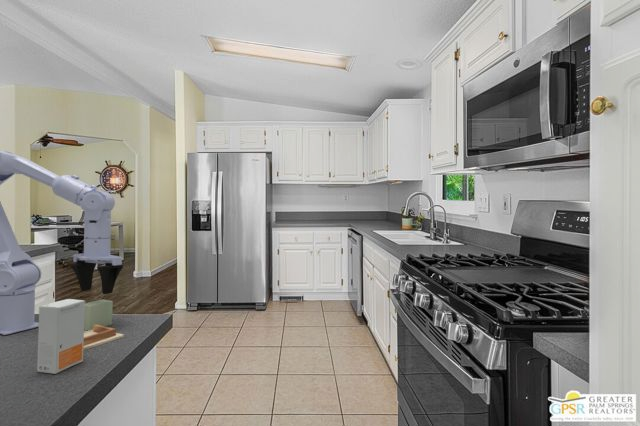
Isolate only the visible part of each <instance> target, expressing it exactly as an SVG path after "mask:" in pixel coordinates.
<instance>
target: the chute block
mask: <svg viewBox="0 0 640 426" xmlns="http://www.w3.org/2000/svg"><path fill="white" fill-rule="evenodd" d="M113 303H114V301H113V300H108V299H98V300H93V301H89V302H85V315H84V329H85V330H84V331H87V330H91V329H93V325H101V326H105V327H109V326H110V325H113V307H114V306H113V305H114V304H113Z"/></svg>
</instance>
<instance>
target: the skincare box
mask: <svg viewBox="0 0 640 426" xmlns="http://www.w3.org/2000/svg"><path fill="white" fill-rule="evenodd" d="M85 303H86V300H83V299H72V298H66V299H63V300H58V301H54V302H50V303H47V304H42V305H40V306H39V307H38V308H39V309H38V323H39V327H38V336H37V367H36V371H37V372H38V373H44V374H52V375H53V374H54V375H57V374H58V373H60V372H63V371H65V370H66V369H69V368H71V367H72V366H75V365H78V364H79V363H82V362H84V351H83V344H84V332H85V330H84V315H85Z"/></svg>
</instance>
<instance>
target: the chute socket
mask: <svg viewBox="0 0 640 426" xmlns="http://www.w3.org/2000/svg"><path fill="white" fill-rule="evenodd" d="M122 338H125V334H124V333H118V332H117V328H114V327H109V326H101V325H93V329H91V330H88V331H87V330H84V344H83V352H84V351H87V350H89V349H92V348H95V347H99V346H101V345H105V344H107V343H111V342H113V341H116V340H118V339H122Z"/></svg>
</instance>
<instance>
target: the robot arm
mask: <svg viewBox="0 0 640 426" xmlns="http://www.w3.org/2000/svg"><path fill="white" fill-rule="evenodd" d="M15 174H17V175H23V176H25V177H27V178H30V179H32V180H35V181H38V182H39V183H42V184H44V185H46V186H48V187H50V188H51V189H52V192H53V194H54V195H55V196H58V197H60V198H62V199H64V200H66V201H68V202H70V203H73V204H74V205H76V206H79V207H80V209H82V210H83V212H84V221H83V222H84V226H83V227H84V228H83V229H84V231H83V233H84V234H83V253H74V254H73V260H72V261H73V262H74V263H72V264H70V267H71V269H72V271H73V272H74V274H75V275H76V278H77V281H78V285H79V288H80V291H81V292H86V291H91V289H92V284H93V278H94V277H93V276H94V272H95V269H97V271H98V272H99V277H100V280H101V292H102V295H108V294H113V291H114V288H115V285H116V281H117V279H118V276H119V274H120V272H122V270H123V268H124V265H123V257H122V256H118V255H114V254H111V243H112V242H111V240H112V239H111V238H112V236H111V233H112V224H111V223H112V210H113V209H114V208H115V206H116V205H115V203H116V202H115V201H116V200H115V197H114V196H113V195H112V194H111V193H109V191H107V190H98V186H97V185H94V184H88V183H87V182H84V181H82V180H80V176H78V175H75V174H71V175H69V174H63V175H58V174H56V173H55V172H52V171H50V169H47V168H45V167H43V166H41V165H40V164H37V163H36V162H34V161H32V160H30V159H28V158H26V157H24V156H21V155H17V154H15V153H13V152H9V151H6V150H5V151H3V150H0V186H2V184H4V183H5V182H7V181H8V180H9V179H10V178H11V177H13V176H14V175H15ZM97 264H101V265H98V266H97ZM102 264H103V265H102ZM96 266H97V267H96ZM41 278H42V270H41V268H40V266H39V265H38V264H37V263H35V262H34V261H33V259H32V257H31V256H30V255H29V253H27V252H25V251H24V250H22V249H21V247H20V244H19V241H18V240H17V237H16V234H15V232H14V231H13V228H12V225H11V223H10V221H9V219H8V216H7V214H6V212H5V209H4V207H3V204H2V203H1V201H0V335H4V336H5V335H10V334H15V333H18V332H22V331H26V330H27V331H28V330H31V329H35V328H39V322H38V321H37V322H36V321H35V310H36V306H35V304H36V301H35V300H36V285H37V283H39V281H40V280H41Z"/></svg>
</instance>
